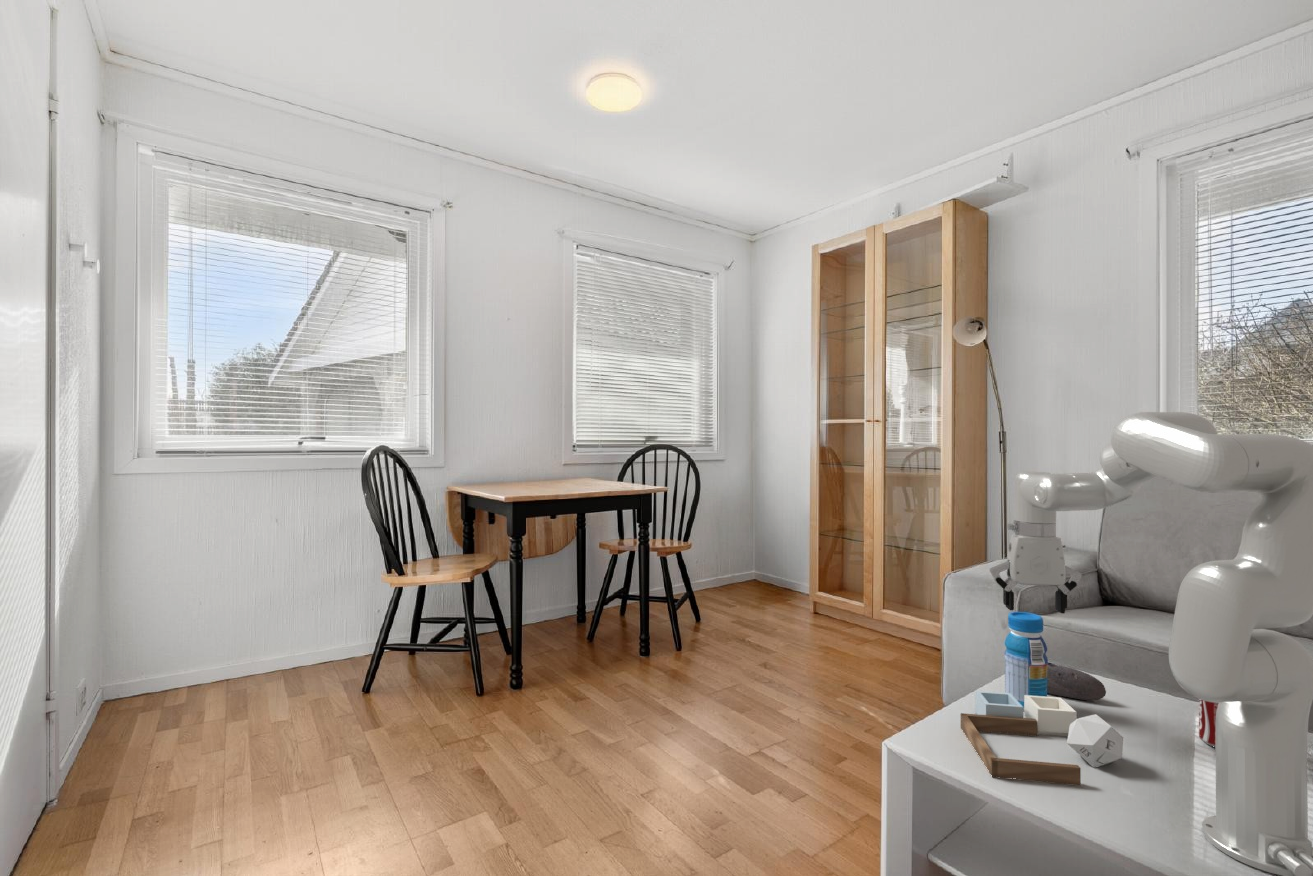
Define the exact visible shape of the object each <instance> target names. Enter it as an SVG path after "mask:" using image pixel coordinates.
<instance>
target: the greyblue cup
mask: <svg viewBox="0 0 1313 876" xmlns="http://www.w3.org/2000/svg"><path fill="white" fill-rule="evenodd" d="M974 694H975V695H974V697H975V698H974V699H975V703H974V704H975V705H974V706H975V707H974V708H975V713H974V714H977V715H990V716H1003V717H1017V718H1024V710H1023V706H1022V705H1021V704H1020V703H1019V702H1018V701H1017V700H1016V699H1015V698H1014V696H1013V695H1012V694H1011V693H1005V692H998V691H997V692H995V691H982V690H975V691H974Z"/></svg>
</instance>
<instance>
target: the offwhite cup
mask: <svg viewBox="0 0 1313 876" xmlns="http://www.w3.org/2000/svg"><path fill="white" fill-rule="evenodd" d="M1077 714H1078V713H1077V711H1076V710H1075V709H1074V708H1073V707H1072V706H1071V705H1069V703H1067V702H1066V701H1065V700H1063V698H1062V697H1060V696H1058V697H1056V696H1047V697H1044V696H1030V695H1024V710H1023V718H1030V719H1036V720H1037V735H1043V736H1044V735H1046V736H1057V737H1059V736H1060V737H1068V733H1069V726H1070V724H1071V723H1072V722H1074V721H1075V720H1076V719H1078V718H1077Z"/></svg>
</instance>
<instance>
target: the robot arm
mask: <svg viewBox="0 0 1313 876" xmlns="http://www.w3.org/2000/svg"><path fill="white" fill-rule="evenodd" d="M1110 437H1111V438H1110V443H1109V444H1107V445H1105V446H1104V447H1103V449H1102V450H1101V452H1100V453H1099V464H1100V467H1101V468H1099V469H1098V470H1095V471H1092V472H1071V473H1070V472H1069V473H1068V472H1066V473H1065V472H1064V473H1051V472H1045V471H1020V472H1018V473H1017V474H1016V475H1015V478H1014V520H1013V522H1012V523H1008V524H1007V530H1008V531H1013V534H1011V536H1010V540H1009V543H1008V544H1009V545H1008V549H1007V557H1006V561H1004V562H1001V563H998V564H997V565H994V566H992V567H990V568H989V573H990V574H991V576H992V578H993V580H994V581H995V582H996V583H997V584H998V586H1000V587H1001V588H1002V590H1003V591H1002V601H1003V602H1002V603H1003V605H1004V606H1005V608H1007V610H1008V611H1014V610H1015V592H1014V591H1013V589H1014V588H1015V587H1016V586H1017V585H1018V584H1019V585H1025V586H1027V585H1028V586H1044V587H1055V588H1056V589H1057V590H1056V591H1055V593H1054V594H1055V595H1054V596H1055V598H1054V600H1055V601H1054V603H1055V606H1054V607H1055V608H1054V609H1055V610H1056V611H1057V612H1059V613H1060V614H1065V613H1066V609H1068V595H1070V594H1071V592H1072V591H1073V590H1074V589H1075V588H1077V586H1078V583H1080V580H1081V579H1082V577H1083V574H1082V573H1081V572H1079V571H1077V570H1075V569H1073V568H1072V567H1069V566H1067V565H1066V562H1065V561H1066V560H1065V553H1064V552H1065V551H1064V546H1063V542H1062V538H1061V537H1058V536H1057V512H1073V511H1099V510H1103V509H1106V508H1109V507H1112V506H1114V505H1117V504H1118V503H1121V502H1122V503H1123V502H1124V501H1127V500H1129V499H1131V498H1132V497H1134V496H1135V495H1136V494H1137V493H1138V492H1139V491H1140V489H1141V487H1142V485H1143V484H1146V483H1149V482H1151V481H1154V480H1156V479H1158V478H1162V479H1164V480H1167V481H1168V482H1171V483H1173V484H1175V485H1179V486H1182V487H1184V488H1187V489H1188V490H1192V491H1196V492H1201V493H1205V494H1206V493H1208V494H1237V493H1241V494H1243V493H1244V494H1245V493H1258V494H1260V495H1261V498H1260V500H1259V502H1258V504H1257V505H1256V506H1255V507H1254V508H1253V509H1252V511H1251V512H1250V513H1249V515H1248V517H1247V518H1246V520H1245V522H1244V525H1243V528H1242V534H1241V541H1240V544H1239V548H1238V552H1237V554H1236V556H1235V557H1234V558H1233V559H1219V560H1211V561H1205V562H1203V563H1200V564H1197V565H1196V566H1194V567H1193V568H1192V569H1190V570H1189V571H1188V572H1187V573H1186V575H1185V576H1184V578H1183V580H1182V581H1181V583H1180V586H1179V588H1178V593H1177V597H1176V605H1175V608H1174V615H1173V616H1174V617H1173V619H1172V621H1173V622H1172V627H1171V632H1170V638H1169V646H1168V662H1169V663H1168V664H1169V667H1170V671H1171V674H1172V675H1173V678H1174V679H1175V681H1176V682H1177V684H1178V685H1179V687H1180V688H1181V689H1183V691H1184V692H1186V693H1187V694H1189V695H1190V696H1191V697H1193V698H1196V699H1198V700H1199V699H1200V700H1203V701H1208V702H1214V703H1219V704H1218V708H1217V712H1216V732H1215V748H1214V749H1215V815H1211V816H1208V817H1206V818H1204V820H1203V821H1202V822H1201V823H1202V824H1201V825H1202V827H1201V829H1202V834H1203V835H1204V837H1205V839H1207V841H1208V842H1209V843H1210V844H1211V845H1212V846H1214V847H1215V848H1216V849H1218V850H1219V851H1221V852H1222V853H1224V854H1226V855H1227V856H1229V857H1231V858H1232V859H1234V860H1237V861H1239V862H1241V863H1243V864H1244V865H1248V866H1250V867H1253V868H1254V869H1256V870H1260V871H1262V872H1263V871H1264V872H1267V873H1270V874H1273V875H1276V876H1313V846H1312V845H1313V842H1312V841H1311V840H1310V839H1309V833H1308V832H1309V831H1308V830H1309V829H1308V828H1309V821H1308V820H1309V819H1308V816H1309V815H1308V811H1309V809H1308V808H1309V807H1308V804H1309V801H1308V800H1309V799H1308V798H1309V797H1308V754H1309V753H1308V752H1309V751H1308V741H1309V739H1308V737H1309V735H1308V734H1309V733H1308V732H1309V731H1308V730H1309V718H1310V712H1311V707H1312V705H1313V657H1312V655H1311V654H1310V653H1309V651H1308V650H1307V648H1306V647H1305V646H1303V644H1301V643H1300V642H1299V641H1297V640H1296V639H1295V638H1293V637H1291V636H1289V635H1287V634H1285V633H1282V632H1279V631H1277V630H1272V629H1277V628H1289V627H1295V626H1299V625H1302V624H1305V623H1306V622H1308V621H1309V620H1310V619H1311V618H1312V617H1313V444H1311V443H1309V442H1307V441H1306V440H1305V441H1304V440H1303V439H1299V438H1296V437H1293V436H1288V435H1283V434H1282V435H1281V434H1272V433H1236V434H1235V433H1233V434H1232V433H1229V434H1228V433H1227V434H1226V433H1225V434H1224V433H1222V434H1218V431H1217V428H1216V427H1215V425H1213V423H1212V422H1210V421H1209V420H1208V419H1207V418H1205V417H1204V416H1201V415H1198V414H1196V413H1195V414H1194V413H1191V412H1180V411H1176V412H1175V411H1172V412H1171V411H1144V412H1142V411H1141V412H1137V413H1132V414H1130V415H1128V416H1126V417H1124V418H1123V419H1121V420H1120V421H1119V422H1118V423H1117V424H1116V425H1115V426H1114V429H1113V430H1112V433H1111V436H1110ZM1004 571H1006V576H1007V578H1006V579H1005V580H1004V579H1003V578H1002V577H1001V572H1004ZM1067 574H1069V575H1070V579H1068V580H1067V581H1066V579H1067Z"/></svg>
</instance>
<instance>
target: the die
mask: <svg viewBox="0 0 1313 876" xmlns="http://www.w3.org/2000/svg"><path fill="white" fill-rule="evenodd" d="M1066 740H1067V741H1066V744H1067V745H1068V746H1069V747H1070V748H1071V749H1073V750H1074V751H1075V752H1076V753H1077V754H1078V755H1079V756H1080V757H1081V758H1083V760H1085V761H1086V762H1087V763H1088V764H1089V765H1090V766H1091V767H1092V768H1097V767H1102V766H1104V765H1105V766H1106V765H1109V764H1112V763H1114V762H1116V761H1118V760H1121V759H1122V758H1123V751H1124V749H1123V747H1124V736H1122V734H1120V733H1119V732H1118V731H1117V730H1116V729H1115V728H1114V727H1113V726H1112V725H1110V724H1109V722H1106V721H1105V720H1104V719H1103V718H1101V717H1100V716H1099V715H1098V714H1091V715H1086V716H1083V717H1079V718H1077V719H1076V720H1075V721H1074V722H1072V723H1071V724H1070V726H1069V733H1068V736H1067V739H1066Z"/></svg>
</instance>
